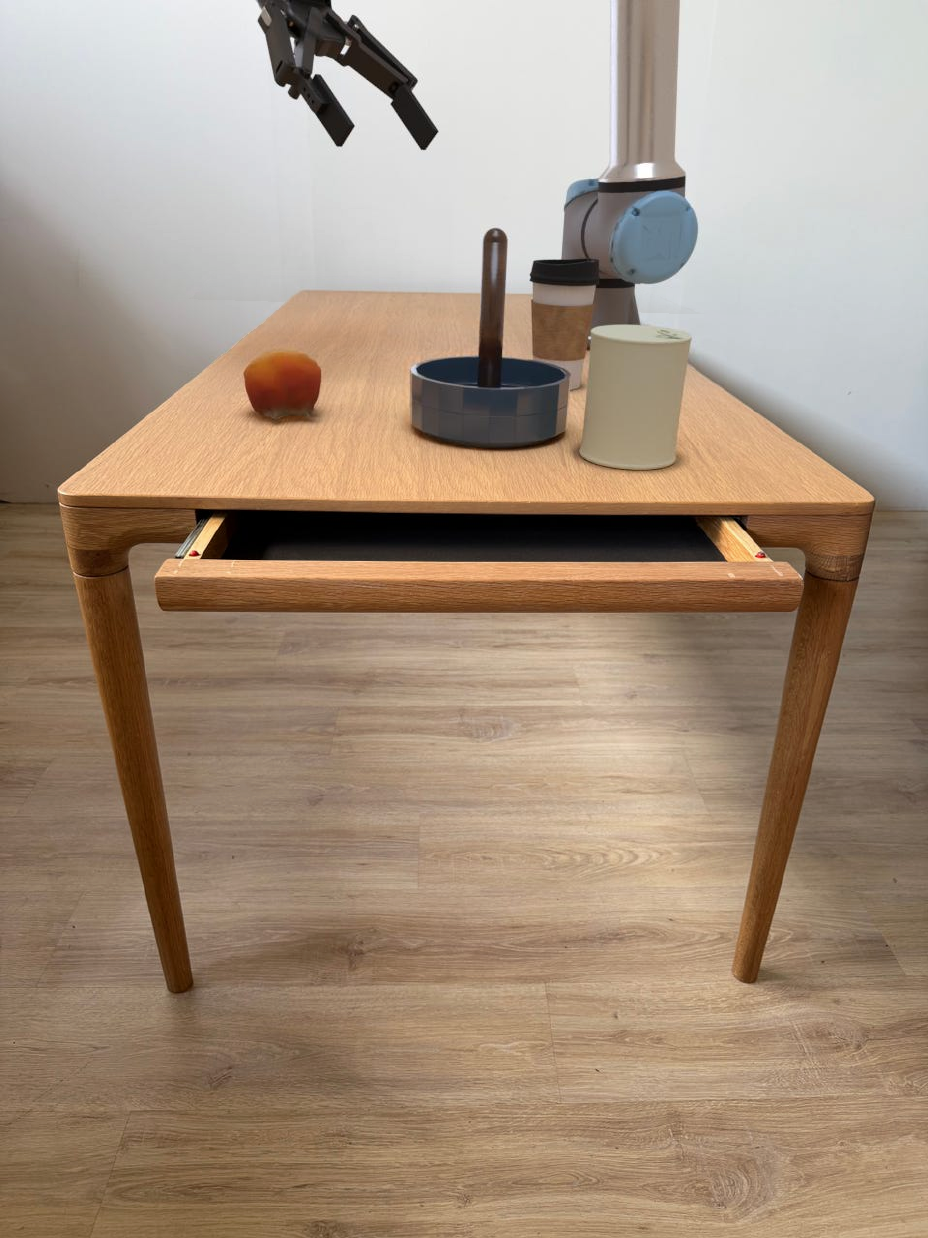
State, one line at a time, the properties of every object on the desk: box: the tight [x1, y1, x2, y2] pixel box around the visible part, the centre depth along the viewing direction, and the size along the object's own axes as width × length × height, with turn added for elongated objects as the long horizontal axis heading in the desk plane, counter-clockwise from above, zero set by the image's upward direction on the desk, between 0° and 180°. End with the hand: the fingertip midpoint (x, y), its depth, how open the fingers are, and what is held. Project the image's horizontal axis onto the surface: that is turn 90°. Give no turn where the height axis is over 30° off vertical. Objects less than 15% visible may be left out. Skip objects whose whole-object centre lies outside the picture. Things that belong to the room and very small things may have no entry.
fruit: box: [243, 348, 322, 422], centre depth 97 cm, size 8×8×8 cm
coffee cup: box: [529, 258, 600, 391], centre depth 113 cm, size 8×8×15 cm
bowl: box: [409, 355, 571, 449], centre depth 95 cm, size 16×16×6 cm
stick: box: [477, 227, 509, 388], centre depth 91 cm, size 5×5×19 cm
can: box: [578, 324, 693, 471], centre depth 86 cm, size 9×9×12 cm
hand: (390, 138), depth 99 cm, fingers open, 13 cm apart
